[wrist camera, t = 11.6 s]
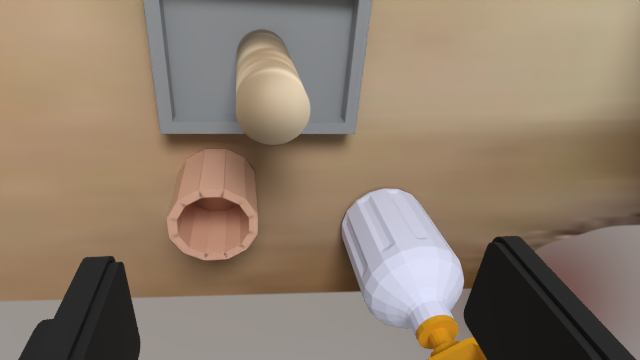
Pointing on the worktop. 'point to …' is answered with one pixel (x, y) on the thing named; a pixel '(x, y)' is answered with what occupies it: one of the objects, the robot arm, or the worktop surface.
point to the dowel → (269, 90)
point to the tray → (221, 49)
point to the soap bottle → (407, 270)
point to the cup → (214, 205)
